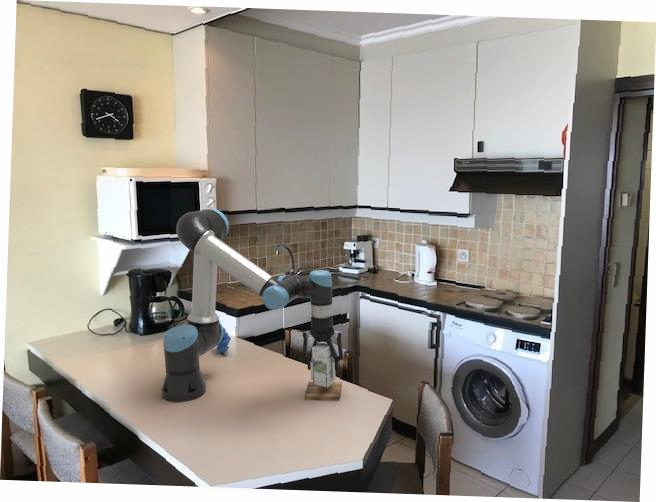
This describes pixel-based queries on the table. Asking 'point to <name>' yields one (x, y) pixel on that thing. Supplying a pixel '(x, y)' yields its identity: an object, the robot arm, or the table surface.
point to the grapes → (224, 342)
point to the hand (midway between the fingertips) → (323, 378)
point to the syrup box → (322, 365)
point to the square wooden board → (323, 392)
